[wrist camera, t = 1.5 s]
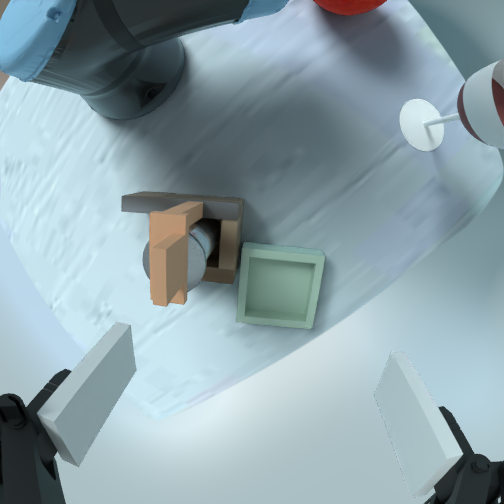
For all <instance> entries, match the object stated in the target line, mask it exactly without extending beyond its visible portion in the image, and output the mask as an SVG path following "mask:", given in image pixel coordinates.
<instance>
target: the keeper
mask: <svg viewBox="0 0 504 504" xmlns="http://www.w3.org/2000/svg"><path fill="white" fill-rule="evenodd" d="M202 216H203V202H195V201H188V202H185V203H182V204H180V205H177V206H175V207H172V208H170V209H167V210H165V211H163V212H161V211H153V212H151V213H150V228H149V256H150V293H151V300H153V305H159V306H166V307H167V306H168V304H169V303H176V304H183V305H184V304H185V302H186V301H187V272H188V237H189V226H190V225H192V224H193V223H195V222H196V221H198V220H199V219H200V218H202Z"/></svg>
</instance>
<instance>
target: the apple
mask: <svg viewBox="0 0 504 504" xmlns="http://www.w3.org/2000/svg"><path fill="white" fill-rule="evenodd" d="M313 1H314V2H315V3H316V4H318V5H319V6H320V7H322V8H324V9H325V10H327V11H330V12H333V13H335V14H339V15H356V14H361V13H365V12H368V11H370V10H373V9H375V8H377V7H379V6H380V5H382V4H383V3H384V2H386V1H387V0H313Z"/></svg>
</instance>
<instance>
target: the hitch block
mask: <svg viewBox="0 0 504 504" xmlns="http://www.w3.org/2000/svg"><path fill="white" fill-rule="evenodd" d="M188 201H195V202H203V216H202V218H213V219H216V220H217V221H218V222H219V224H220V226H221V237H220V241H219V243H218V244H217V246H216V247H215V248H214V250H213V251H212V253H211V254H210V256H209V257H208V258H207V265H206V270H205V273H204V275H203V277H202V279H201V280H202V281H210V282H218V283H227V284H233V282H234V279H235V276H236V273H237V270H238V265H239V253H240V240H241V228H242V217H243V205H244V199H241V198H229V197H217V196H204V195H190V194H175V193H163V192H138V193H133V194H129V195H124V196H122V209H121V211H122V212H137V213H151V212H153V211H161V212H163V211H165V210H167V209H170V208H172V207H175V206H177V205H180V204H182V203H185V202H188Z"/></svg>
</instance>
